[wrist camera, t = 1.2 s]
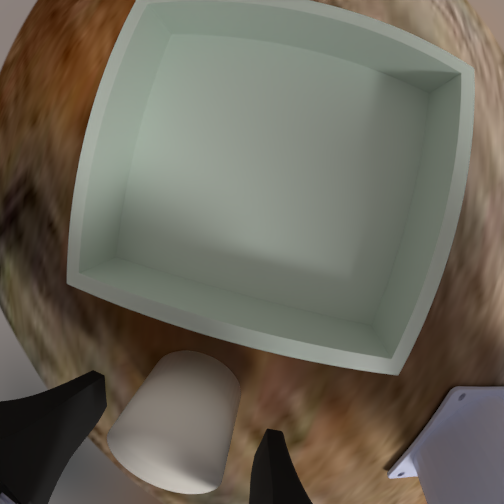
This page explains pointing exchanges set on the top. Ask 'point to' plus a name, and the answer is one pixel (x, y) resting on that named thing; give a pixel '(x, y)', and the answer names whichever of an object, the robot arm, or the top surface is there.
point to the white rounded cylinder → (179, 424)
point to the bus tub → (274, 177)
